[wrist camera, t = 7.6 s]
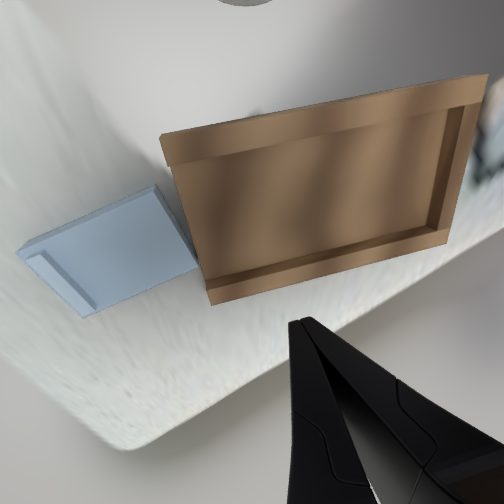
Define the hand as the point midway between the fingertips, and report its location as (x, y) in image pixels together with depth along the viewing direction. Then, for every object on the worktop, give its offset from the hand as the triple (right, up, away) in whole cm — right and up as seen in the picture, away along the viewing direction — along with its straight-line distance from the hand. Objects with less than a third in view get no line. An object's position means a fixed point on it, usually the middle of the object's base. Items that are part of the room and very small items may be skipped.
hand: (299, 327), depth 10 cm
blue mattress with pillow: (-11, +3, +10) cm, 15 cm away
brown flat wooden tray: (+4, +7, +10) cm, 13 cm away
